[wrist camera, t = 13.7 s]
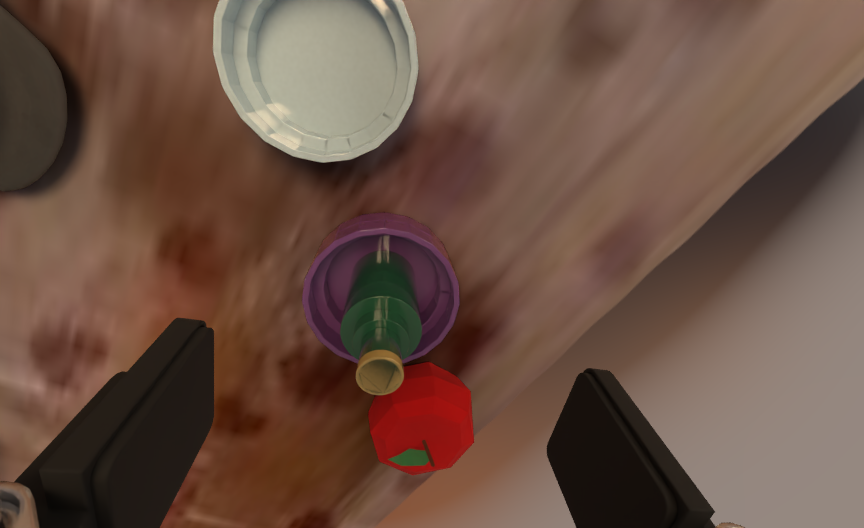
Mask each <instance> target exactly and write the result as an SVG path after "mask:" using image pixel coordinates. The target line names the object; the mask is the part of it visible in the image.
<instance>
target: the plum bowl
mask: <svg viewBox="0 0 864 528" xmlns="http://www.w3.org/2000/svg"><path fill="white" fill-rule="evenodd" d="M380 250H386V251H392V252H395V253H398V254H400V255H401V256H403V257H404V258H405V259H406V260H407V261H408V262H409V263H410V264H411V266H412V268H413V270H414V273H415V279H416V286H417V294H418V301H419V309H420V316H421V324H422V336H421V340H420V342H419V344H418V346H417V348H416V349H415V351H414V352H413V353H412V354H411V355H410V356H408V357H407V358H405V359H404V360H402V363H406V362H409V361H411V360H414V359H416V358H418V357H421V356H423V355H425V354H426V353H428V352H429V351H430V350H431V349H433V348H434V347H435V346H437V345H438V344H439V343H440V342H441V341H442V340H443V339H444V337H445V336H446V335H447V333H448V332H449V330H450V329H451V327H452V326H453V324H454V322H455V318H456V315H457V311H458V308H459V304H460V300H459V284H458V280H457V277H456V274H455V271H454V269H453V266H452V263H451V260H450V258H449V256H448V254H447V251H446V249H445V247H444V244H443V243H442V242H441V241H440V240H439V239H438V238H437V237H436V235H435V234H434V233H433V232H432V231H431V230H430V229H429V228H428V227H426V226H424V225H422V224H421V223H419V222H417V221H415V220H413V219H411V218H410V217H407V216H401V215H396V214H391V213H385V212H382V213H373V214H364V215H360V216H358V217H356V218H353V219H351V220H349V221H347V222H344V223H342V224H341V225H339V226H338V227H337V228H336V229H335V230H334V231H332V232H331V233H330V234H329V235H328V236H327V237H326V238H325V239H324V240H323V242H322V244H321V246H320V247H319V249H318V251H317V253H316V255H315V257H314V259H313V261H312V263H311V266H310V268H309V270H308V272H307V275H306V277H305V280H304V288H303V296H302V303H303V307H304V311H305V315H306V320H307V323H308V324H309V326H310V327H311V329H312V330H313V332H314V333H315V335H316V336H317V338H318V339H319V340H320V342H322V343H323V344H324V345H325V346H326V347H328V348H329V349H330V350H331V351H333V352H334V353H335V354H337V355H338V356H341V357H343V358H346V359H348V360H350V361H353V362H355V363H358V362H359V360H358V359H356V358H354V357H353V356H352V355H351V354H350V353H349V352H348V351H347V350H346V348H345V347H344V345H343V343H342V340H341V336H340V326H341V321H342V316H343V311H344V307H345V302H346V297H347V292H348V287H349V283H350V278H351V273H352V270H353V268H354V266H355V264H356V263H357V262H358V260H360V259H361V258H362V257H363V256H365V255H366V254H368V253H371V252H374V251H380Z"/></svg>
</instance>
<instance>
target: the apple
mask: <svg viewBox="0 0 864 528" xmlns="http://www.w3.org/2000/svg"><path fill="white" fill-rule="evenodd" d="M368 417H369V425H370V433H371V436H372V439H373V442H374V446H375V449H376V452H377V455H378V458H379V461H380V462H382V463H384V464H386V465H389V466H391V467H394V468H396V469H398V470H401V471H403V472H406V473H408V474H411V475H417V474H422V473H427V472H431V471H436V470H441V469H446V468H450V467H452V466H453V464H454V463H455V462H456V461H457V460H458V459H459V458H460V457H461V456H462V455H463V454H464V453H465V451H466V450H467V449H468V448H469V447H470V446H471V445H472V444H473V443H474V435H473V420H472V406H471V391H470V390H469V389H468V388H467V387H466V386H465V385H464V384H463V383H462V382H461V381H460V380H459V378H458V377H457V376H455V375H453V374H451V373H450V372H448V371H446V370H444V369H442V368H440V367H438V366H436V365H434V364H432V363H430V362H425V363H420V364H415V365H410V366H405V367H404V379H403V382H402V384H401V385H400V387H399V388H398V389H396V390H395V391H394V392H392V393H389V394H386V395H375V397H374V400H373V402H372V405H371V407H370V410H369V412H368Z"/></svg>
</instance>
